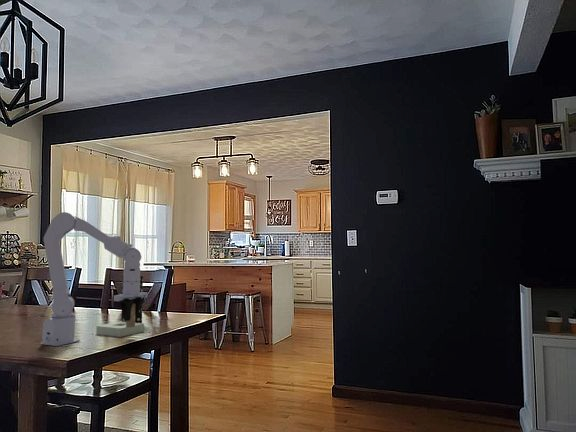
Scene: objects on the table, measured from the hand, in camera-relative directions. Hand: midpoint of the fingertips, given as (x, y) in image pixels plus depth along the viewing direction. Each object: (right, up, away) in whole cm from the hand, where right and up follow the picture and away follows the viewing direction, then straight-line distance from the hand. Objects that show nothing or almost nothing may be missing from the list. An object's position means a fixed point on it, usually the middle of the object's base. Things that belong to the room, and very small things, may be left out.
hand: (130, 319), depth 166 cm
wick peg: (0, -2, 0) cm, 2 cm away
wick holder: (-7, -7, +10) cm, 14 cm away
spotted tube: (-10, -9, +31) cm, 34 cm away
